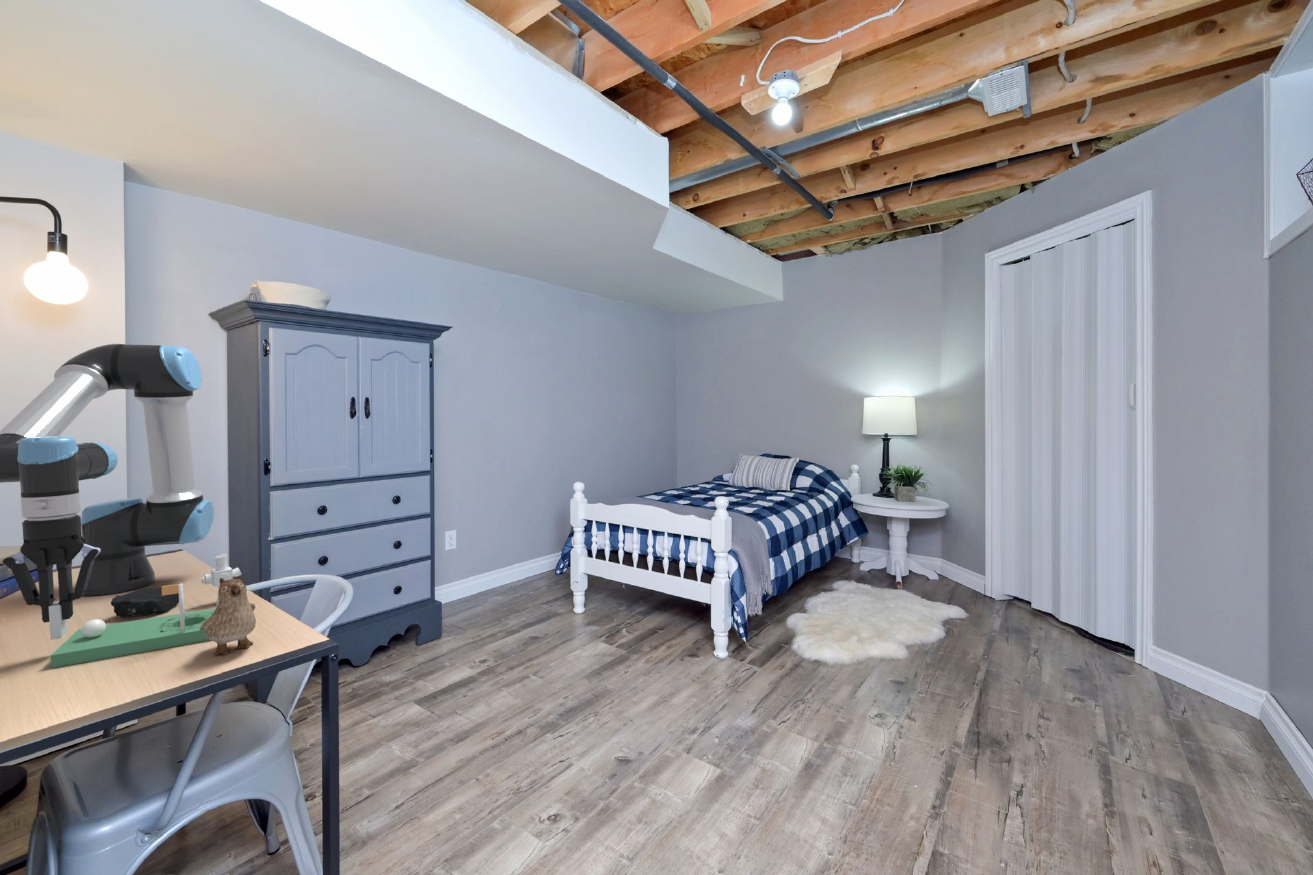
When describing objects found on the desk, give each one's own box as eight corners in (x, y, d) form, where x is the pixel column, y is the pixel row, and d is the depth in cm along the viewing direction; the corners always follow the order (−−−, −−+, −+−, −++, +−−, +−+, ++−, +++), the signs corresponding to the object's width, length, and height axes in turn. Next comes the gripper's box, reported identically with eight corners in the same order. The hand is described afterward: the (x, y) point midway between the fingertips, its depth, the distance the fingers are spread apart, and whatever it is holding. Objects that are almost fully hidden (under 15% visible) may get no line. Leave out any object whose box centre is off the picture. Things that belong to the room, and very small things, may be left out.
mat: (79, 640, 112) (76, 581, 111) (226, 616, 124) (224, 563, 124) (51, 668, 100) (47, 602, 99) (217, 638, 113) (214, 580, 112)
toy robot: (244, 600, 135) (242, 553, 134) (204, 608, 129) (202, 559, 129) (240, 596, 138) (239, 550, 137) (201, 604, 132) (199, 556, 131)
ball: (84, 635, 108) (84, 618, 108) (109, 631, 110) (108, 615, 110) (78, 642, 105) (77, 624, 105) (103, 638, 107) (102, 620, 107)
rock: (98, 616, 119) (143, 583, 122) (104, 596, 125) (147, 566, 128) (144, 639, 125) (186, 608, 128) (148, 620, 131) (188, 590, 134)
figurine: (212, 665, 101) (208, 586, 100) (191, 653, 106) (188, 578, 105) (267, 647, 109) (264, 574, 108) (245, 636, 114) (243, 566, 113)
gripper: (-9, 524, 97) (-1, 651, 99) (92, 516, 104) (98, 635, 105) (11, 516, 104) (18, 636, 105) (105, 510, 111) (111, 622, 112)
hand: (59, 636), depth 105 cm, fingers closed
